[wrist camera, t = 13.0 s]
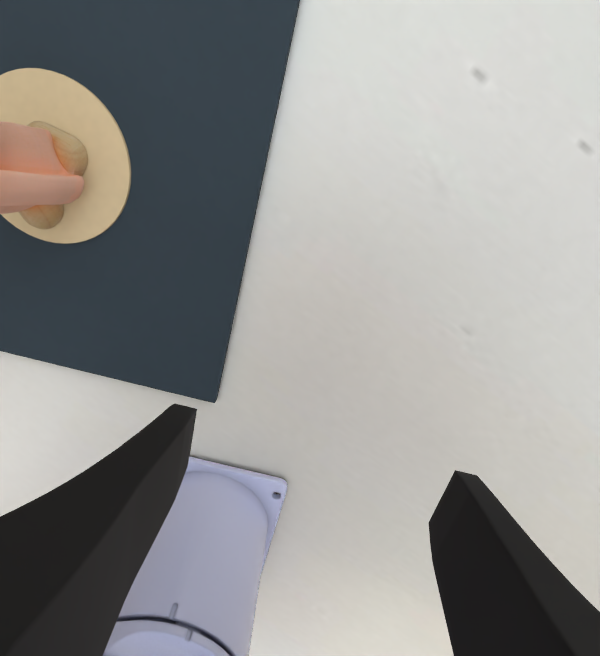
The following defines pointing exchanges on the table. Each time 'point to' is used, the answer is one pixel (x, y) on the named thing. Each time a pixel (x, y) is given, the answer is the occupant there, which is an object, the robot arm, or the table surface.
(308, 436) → the table surface
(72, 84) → the display mat
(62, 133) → the grandmother figurine
